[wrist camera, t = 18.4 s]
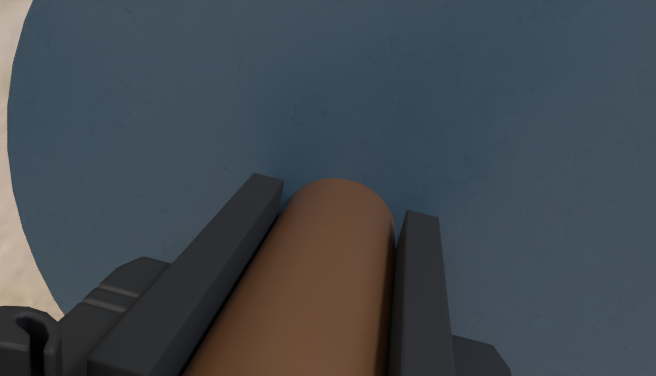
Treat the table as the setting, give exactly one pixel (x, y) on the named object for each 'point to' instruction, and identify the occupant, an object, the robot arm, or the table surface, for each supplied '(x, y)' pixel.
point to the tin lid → (355, 167)
